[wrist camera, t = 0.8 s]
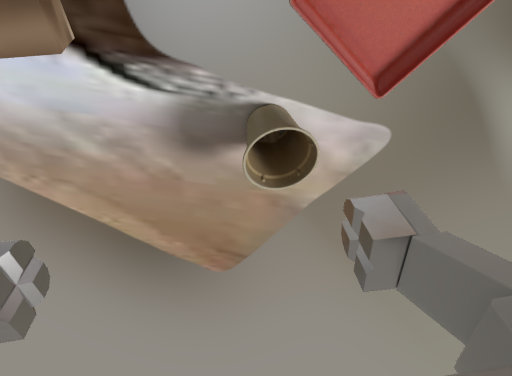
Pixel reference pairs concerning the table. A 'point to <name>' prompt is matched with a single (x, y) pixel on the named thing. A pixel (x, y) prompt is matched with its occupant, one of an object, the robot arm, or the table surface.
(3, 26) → the block
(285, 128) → the flower pot
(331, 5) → the plant saucer
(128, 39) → the table surface
